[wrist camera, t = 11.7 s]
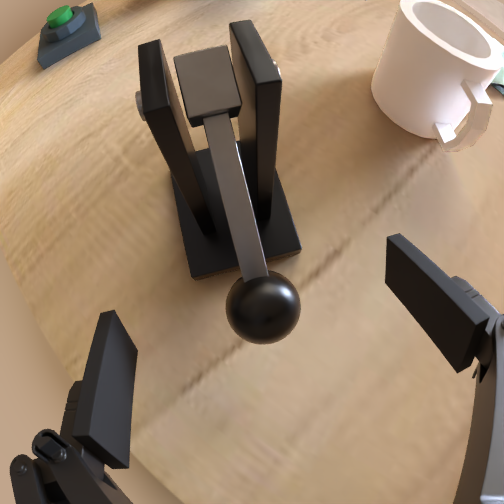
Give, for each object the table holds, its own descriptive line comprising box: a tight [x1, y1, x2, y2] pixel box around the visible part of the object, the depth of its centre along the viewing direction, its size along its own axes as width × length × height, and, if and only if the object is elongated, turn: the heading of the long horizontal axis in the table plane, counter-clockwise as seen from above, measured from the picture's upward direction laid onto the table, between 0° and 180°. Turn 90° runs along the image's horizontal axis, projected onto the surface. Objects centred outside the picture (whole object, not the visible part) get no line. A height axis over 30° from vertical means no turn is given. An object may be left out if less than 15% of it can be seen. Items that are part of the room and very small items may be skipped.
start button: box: [47, 5, 73, 29], centre depth 28 cm, size 4×4×2 cm
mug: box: [371, 0, 503, 152], centre depth 22 cm, size 14×10×11 cm
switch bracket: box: [135, 20, 302, 281], centre depth 18 cm, size 10×8×15 cm
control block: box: [37, 3, 101, 69], centre depth 31 cm, size 10×9×4 cm
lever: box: [173, 45, 301, 345], centre depth 13 cm, size 13×3×3 cm, turn 15°
